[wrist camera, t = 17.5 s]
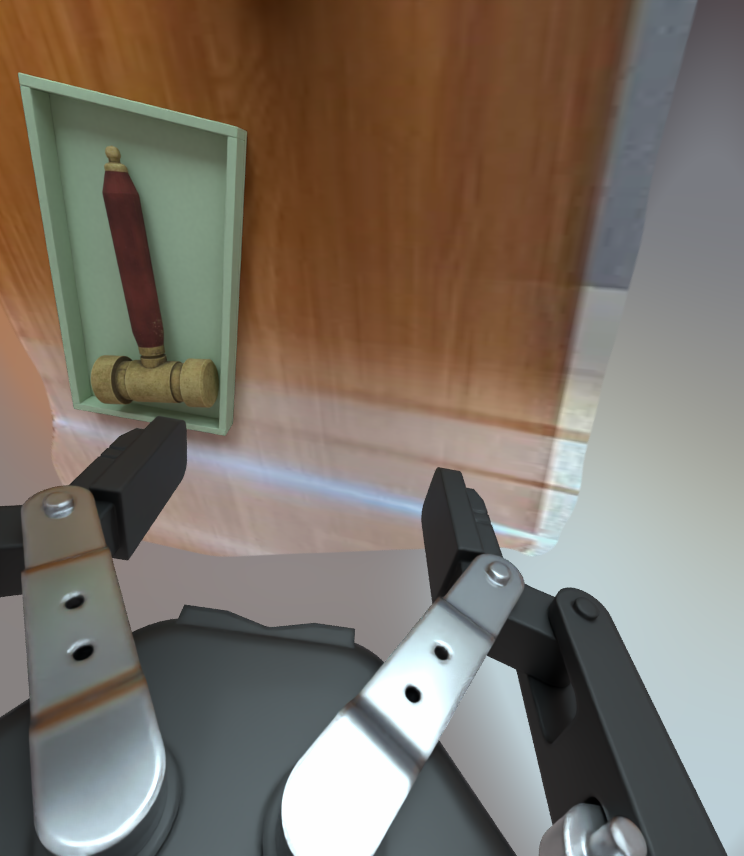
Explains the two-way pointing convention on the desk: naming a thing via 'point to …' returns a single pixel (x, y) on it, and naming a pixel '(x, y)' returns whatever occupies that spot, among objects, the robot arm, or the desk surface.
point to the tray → (165, 228)
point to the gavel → (143, 314)
